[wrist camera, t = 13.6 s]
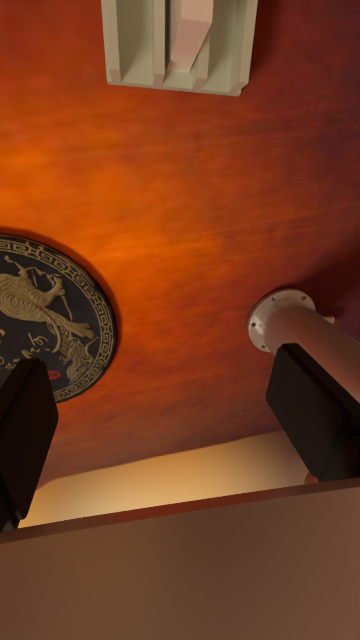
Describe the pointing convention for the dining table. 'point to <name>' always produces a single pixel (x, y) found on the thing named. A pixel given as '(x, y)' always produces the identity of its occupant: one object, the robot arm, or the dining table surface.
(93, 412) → the dining table surface
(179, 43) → the tall tan prism
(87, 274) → the decorative plate
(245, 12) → the dish rack
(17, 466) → the robot arm
